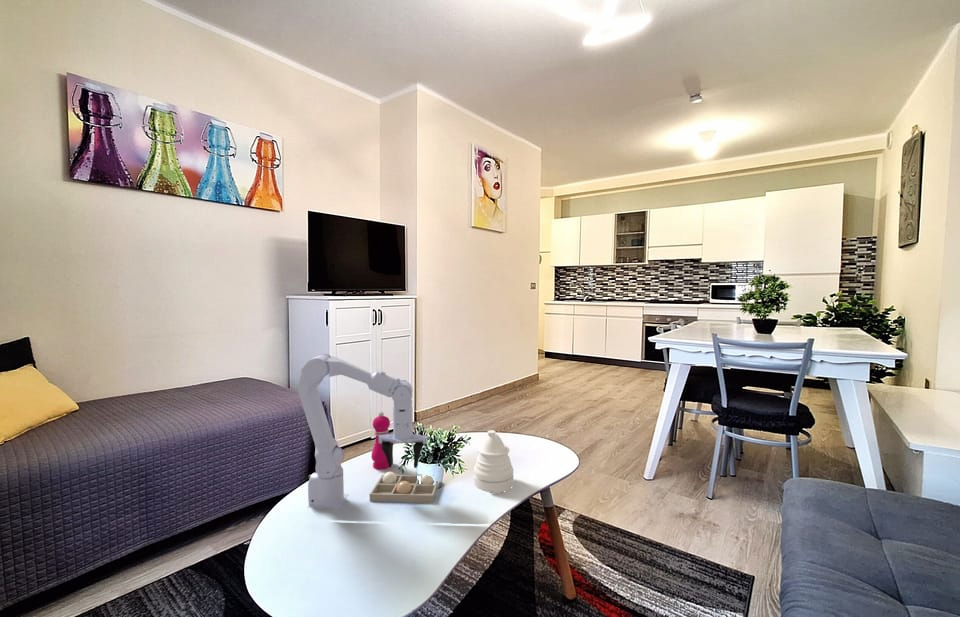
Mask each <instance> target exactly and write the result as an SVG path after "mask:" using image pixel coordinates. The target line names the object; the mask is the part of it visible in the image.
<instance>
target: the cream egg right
mask: <svg viewBox="0 0 960 617" xmlns="http://www.w3.org/2000/svg"><path fill="white" fill-rule="evenodd" d="M422 475H423V474H422ZM433 483H434V480H433V478H432V477H431V476H428V475H423V476H422V477H421V484H422V485H433Z"/></svg>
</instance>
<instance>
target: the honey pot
mask: <svg viewBox="0 0 960 617" xmlns="http://www.w3.org/2000/svg"><path fill="white" fill-rule="evenodd" d="M487 435H488V436H487V437H486V438H485V440H484V442H483V443H482V445H480V446H479V447H478V453H479V454H478V455H477V457H476V461H475V465H474V467H473V485H474V486H475V487H476V488H477V489H478V490H481V491H484V492H489V494H490V493H499V494H501V493H500V492H504V491H507V490H509V489H511V487H512V486H513V487H514V468H513V465H512V461H511V458H510V456H509V453H510V448H509V447H508V446H507V445H506V444H504V442H503V440H502V438H501V437H500V436H499V435H498V434H497V432H496V431H495V430H492V429H491V430H487ZM513 487H512V488H513ZM511 490H512V489H511ZM509 491H510V490H509ZM507 492H508V491H507ZM504 493H505V492H504Z"/></svg>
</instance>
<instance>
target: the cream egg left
mask: <svg viewBox="0 0 960 617" xmlns="http://www.w3.org/2000/svg"><path fill="white" fill-rule="evenodd" d="M383 475H384V476H383V483H384V484H395V483H396V480H397V477H396V475H397V474H396V473H395V472H394V471H386V472H385V473H384V474H383Z"/></svg>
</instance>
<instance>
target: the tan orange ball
mask: <svg viewBox="0 0 960 617" xmlns="http://www.w3.org/2000/svg"><path fill="white" fill-rule="evenodd" d="M396 490H397V493H398V494H409V493H410V492H411V485H410V483H409V482H407V481H402V482H400V483H399V484H398V485H397V488H396Z"/></svg>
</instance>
